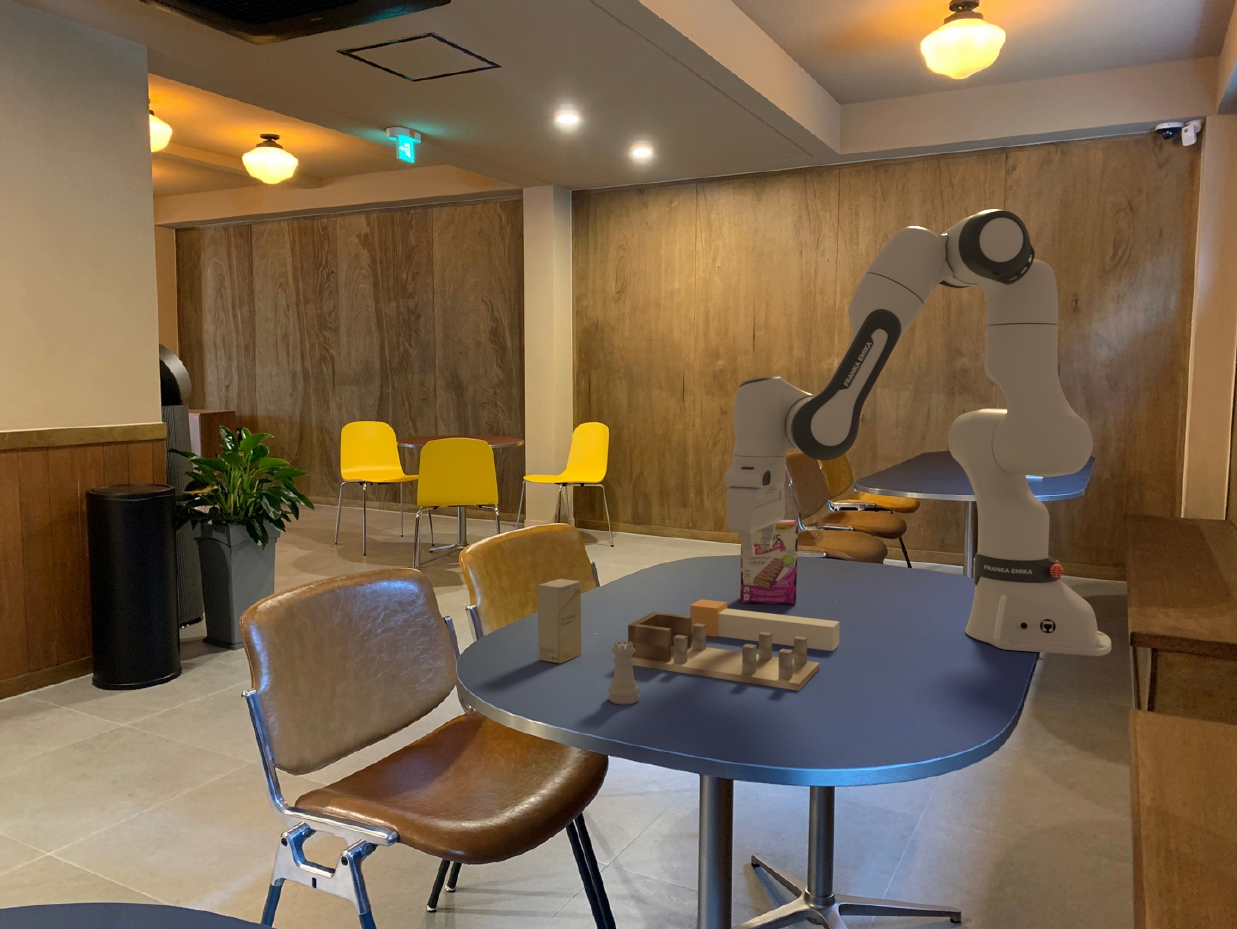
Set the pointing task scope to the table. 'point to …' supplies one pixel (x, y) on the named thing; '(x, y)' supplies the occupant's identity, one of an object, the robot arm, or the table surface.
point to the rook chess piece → (623, 676)
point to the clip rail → (716, 654)
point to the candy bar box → (771, 568)
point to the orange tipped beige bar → (763, 625)
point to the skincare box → (559, 620)
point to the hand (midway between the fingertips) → (757, 553)
